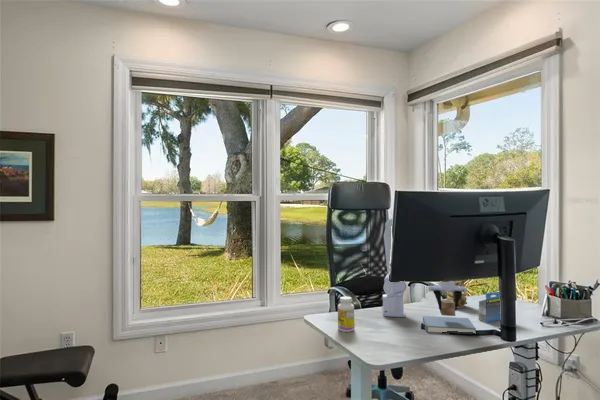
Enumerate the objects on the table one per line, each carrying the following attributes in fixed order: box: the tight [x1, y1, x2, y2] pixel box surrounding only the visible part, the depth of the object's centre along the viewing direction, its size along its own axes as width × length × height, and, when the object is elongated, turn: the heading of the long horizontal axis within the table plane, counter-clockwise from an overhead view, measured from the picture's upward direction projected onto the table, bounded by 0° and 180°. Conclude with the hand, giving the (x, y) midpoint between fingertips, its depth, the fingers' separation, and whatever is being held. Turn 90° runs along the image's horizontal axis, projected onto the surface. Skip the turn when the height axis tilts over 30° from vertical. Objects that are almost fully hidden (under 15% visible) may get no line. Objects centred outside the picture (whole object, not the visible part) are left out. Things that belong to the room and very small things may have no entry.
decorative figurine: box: [446, 281, 468, 309], centre depth 179 cm, size 10×8×15 cm
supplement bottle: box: [337, 295, 356, 333], centre depth 149 cm, size 7×7×13 cm
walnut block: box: [439, 299, 456, 317], centre depth 149 cm, size 5×5×5 cm
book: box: [422, 315, 477, 335], centre depth 148 cm, size 18×13×3 cm
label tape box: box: [478, 291, 501, 324], centre depth 157 cm, size 9×4×12 cm, turn 113°
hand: (447, 309), depth 148 cm, fingers closed on walnut block, 5 cm apart
